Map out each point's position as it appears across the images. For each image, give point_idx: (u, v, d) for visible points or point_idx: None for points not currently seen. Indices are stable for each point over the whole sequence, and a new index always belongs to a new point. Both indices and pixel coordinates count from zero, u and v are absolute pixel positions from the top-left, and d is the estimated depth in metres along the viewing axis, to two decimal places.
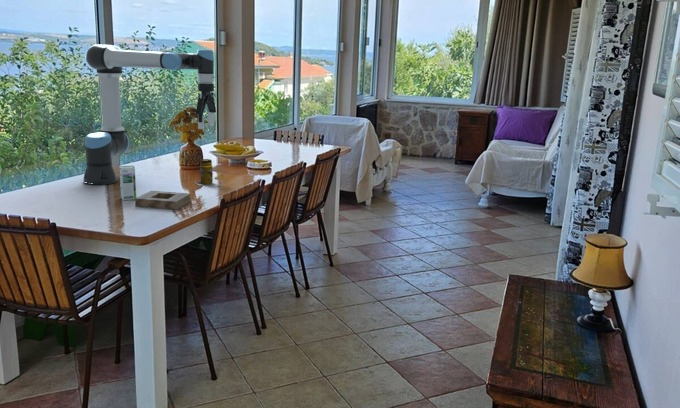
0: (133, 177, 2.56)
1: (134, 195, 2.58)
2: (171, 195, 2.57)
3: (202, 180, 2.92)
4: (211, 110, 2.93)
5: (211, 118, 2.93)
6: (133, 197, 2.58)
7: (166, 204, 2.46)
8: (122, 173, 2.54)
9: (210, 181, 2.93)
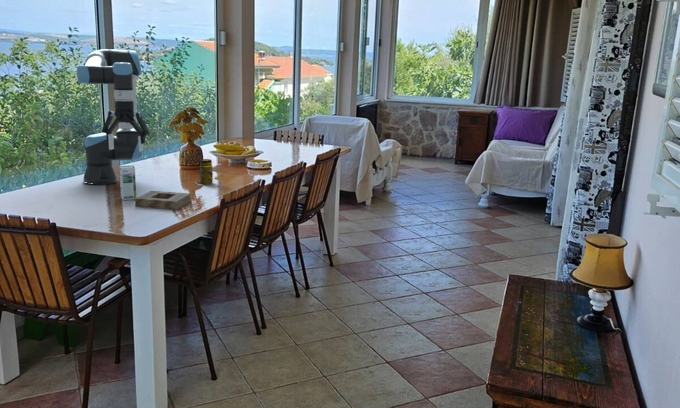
0: (133, 177, 2.56)
1: (134, 195, 2.58)
2: (171, 195, 2.57)
3: (202, 180, 2.92)
4: None
5: None
6: (133, 197, 2.58)
7: (166, 204, 2.46)
8: (122, 173, 2.54)
9: (210, 181, 2.93)
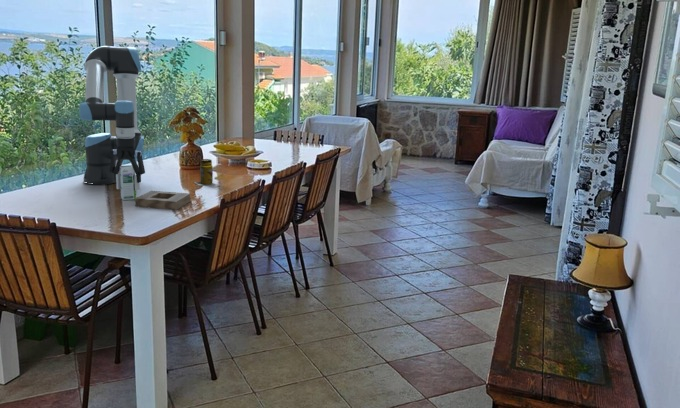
0: (133, 177, 2.56)
1: (134, 195, 2.58)
2: (171, 195, 2.57)
3: (202, 180, 2.92)
4: None
5: None
6: (133, 197, 2.58)
7: (166, 204, 2.46)
8: (122, 173, 2.54)
9: (210, 181, 2.93)
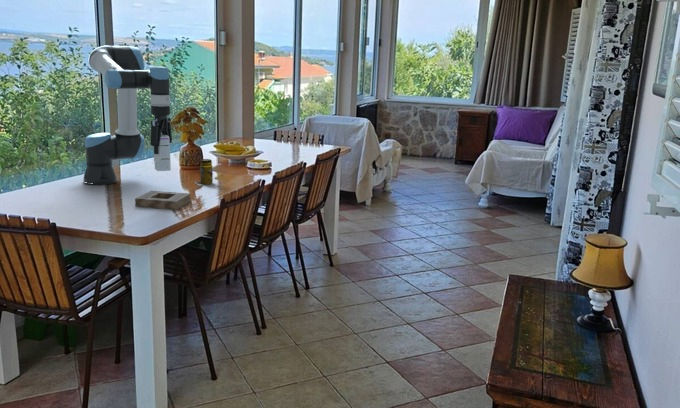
0: None
1: None
2: (171, 195, 2.57)
3: (202, 180, 2.92)
4: None
5: None
6: None
7: (166, 204, 2.46)
8: (169, 142, 2.46)
9: (210, 181, 2.93)
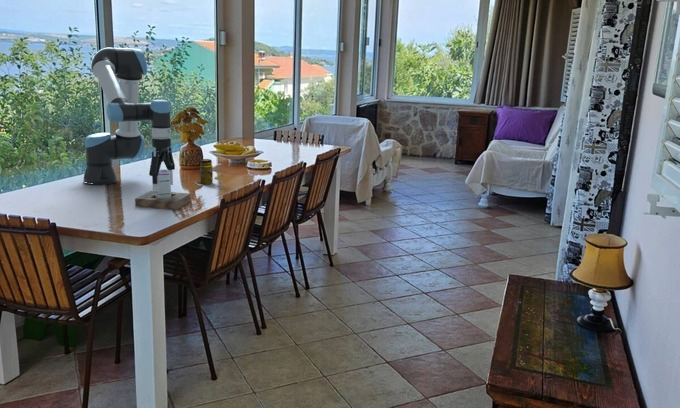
0: None
1: None
2: (171, 195, 2.57)
3: (202, 180, 2.92)
4: (169, 167, 2.57)
5: None
6: None
7: (166, 204, 2.46)
8: None
9: (210, 181, 2.93)
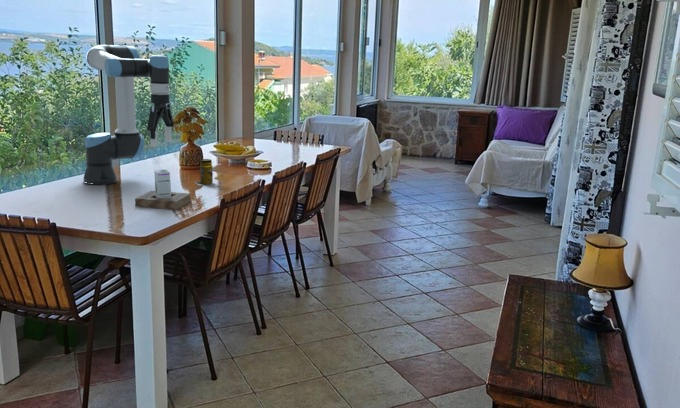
0: None
1: None
2: (171, 195, 2.57)
3: (202, 180, 2.92)
4: (168, 124, 2.58)
5: (168, 133, 2.58)
6: None
7: (166, 204, 2.46)
8: None
9: (210, 181, 2.93)
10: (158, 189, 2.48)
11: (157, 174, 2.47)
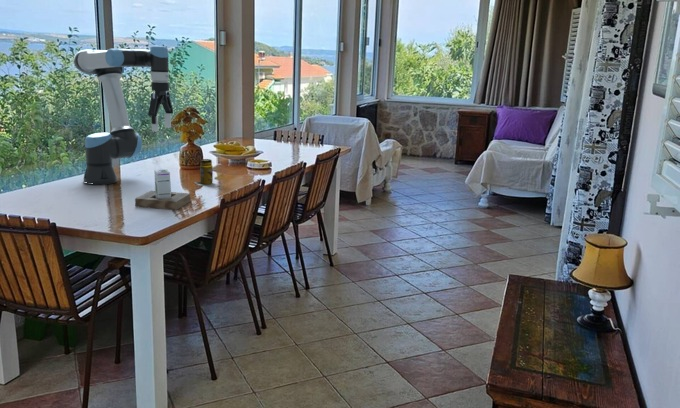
0: None
1: None
2: (171, 195, 2.57)
3: (202, 180, 2.92)
4: (167, 111, 2.74)
5: (167, 119, 2.74)
6: None
7: (166, 204, 2.46)
8: None
9: (210, 181, 2.93)
10: (158, 189, 2.48)
11: (157, 174, 2.47)
